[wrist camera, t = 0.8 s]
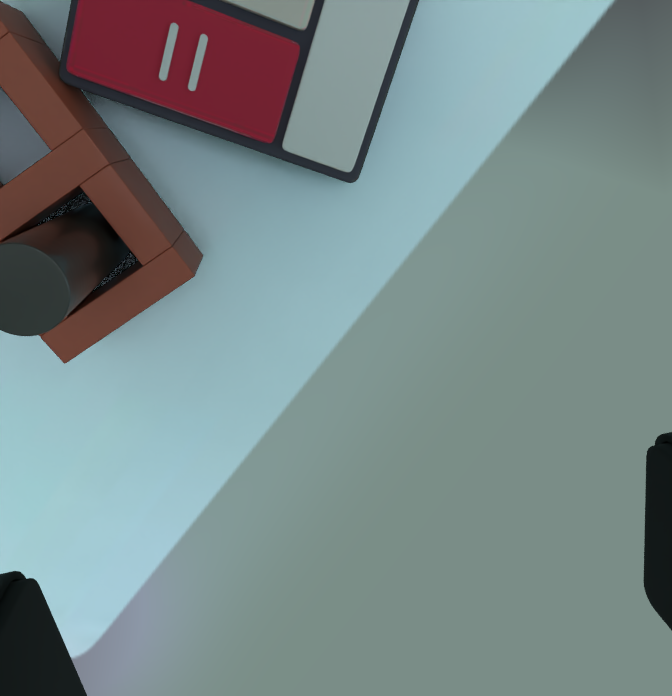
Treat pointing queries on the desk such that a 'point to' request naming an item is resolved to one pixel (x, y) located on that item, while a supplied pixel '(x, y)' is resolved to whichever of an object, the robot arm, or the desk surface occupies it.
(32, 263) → the peg
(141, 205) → the hollow brick
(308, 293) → the desk surface
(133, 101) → the calculator
